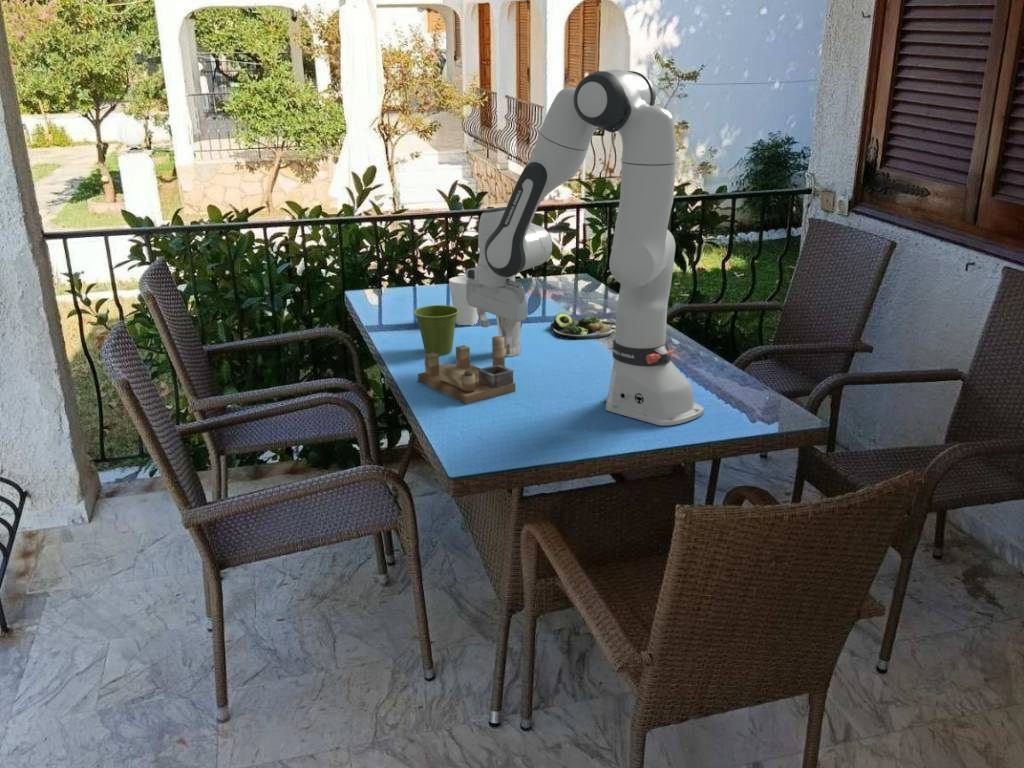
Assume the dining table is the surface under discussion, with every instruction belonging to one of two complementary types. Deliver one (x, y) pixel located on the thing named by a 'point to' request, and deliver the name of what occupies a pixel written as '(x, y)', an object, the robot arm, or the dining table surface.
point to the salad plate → (579, 327)
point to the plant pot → (437, 327)
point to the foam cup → (462, 301)
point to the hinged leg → (457, 377)
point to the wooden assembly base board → (486, 379)
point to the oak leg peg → (498, 350)
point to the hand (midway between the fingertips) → (496, 331)
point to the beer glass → (513, 341)
